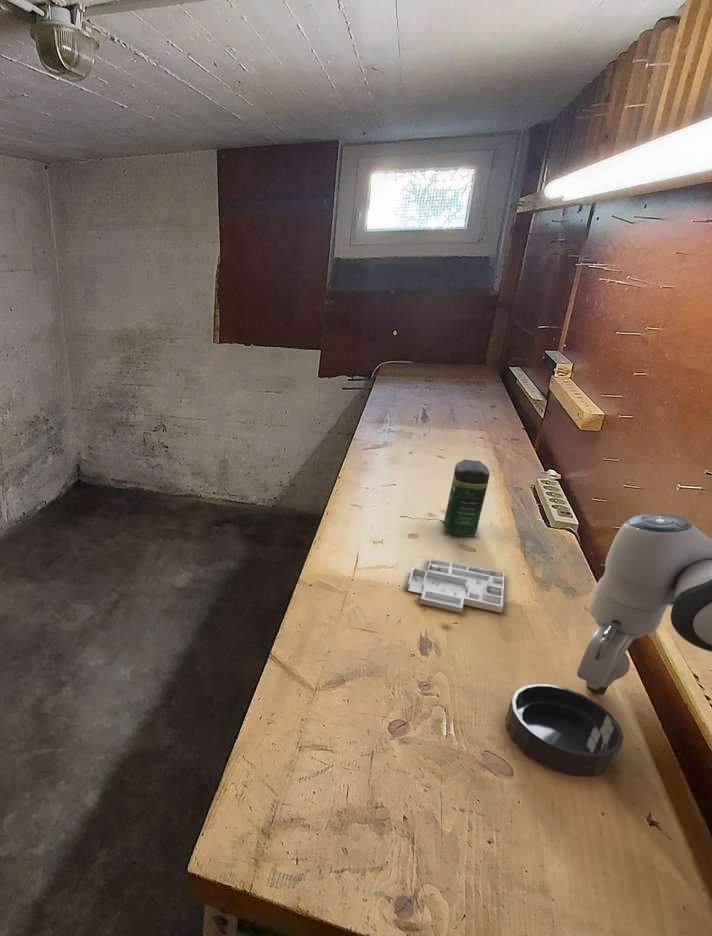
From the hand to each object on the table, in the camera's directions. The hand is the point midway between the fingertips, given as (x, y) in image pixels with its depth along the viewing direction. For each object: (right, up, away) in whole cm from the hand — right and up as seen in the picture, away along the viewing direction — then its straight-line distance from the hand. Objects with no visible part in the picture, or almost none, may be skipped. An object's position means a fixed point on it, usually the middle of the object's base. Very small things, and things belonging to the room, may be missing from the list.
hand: (599, 676), depth 95 cm
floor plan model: (-10, +9, +28) cm, 31 cm away
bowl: (-12, -8, -7) cm, 16 cm away
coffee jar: (+5, +23, +55) cm, 60 cm away
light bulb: (0, -3, +2) cm, 4 cm away
